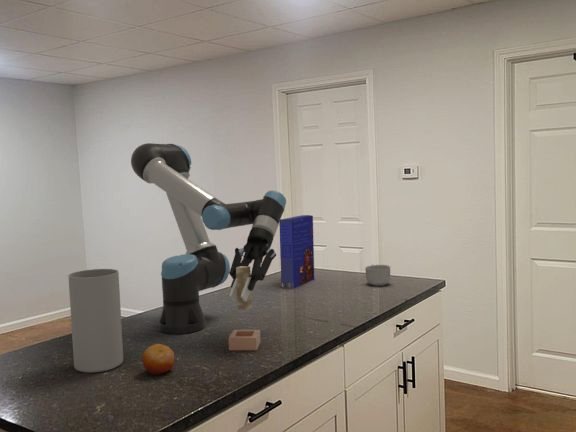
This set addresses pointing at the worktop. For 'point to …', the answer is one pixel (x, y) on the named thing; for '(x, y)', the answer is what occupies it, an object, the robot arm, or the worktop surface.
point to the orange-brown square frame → (244, 340)
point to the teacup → (378, 274)
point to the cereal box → (296, 251)
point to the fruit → (158, 359)
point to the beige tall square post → (242, 276)
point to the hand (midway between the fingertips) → (237, 298)
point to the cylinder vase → (96, 320)
